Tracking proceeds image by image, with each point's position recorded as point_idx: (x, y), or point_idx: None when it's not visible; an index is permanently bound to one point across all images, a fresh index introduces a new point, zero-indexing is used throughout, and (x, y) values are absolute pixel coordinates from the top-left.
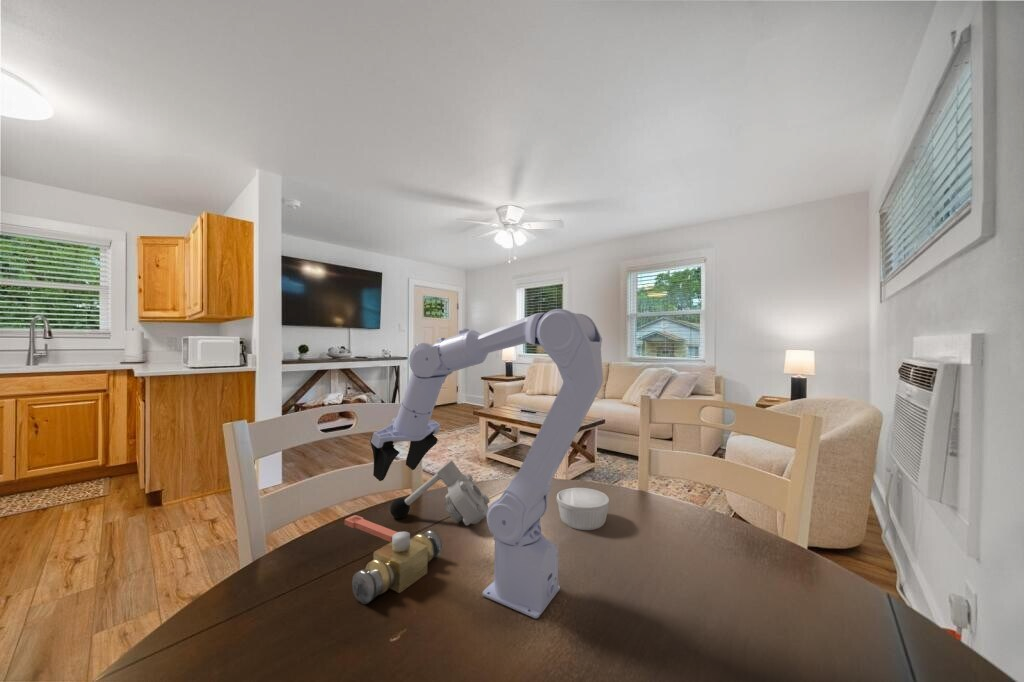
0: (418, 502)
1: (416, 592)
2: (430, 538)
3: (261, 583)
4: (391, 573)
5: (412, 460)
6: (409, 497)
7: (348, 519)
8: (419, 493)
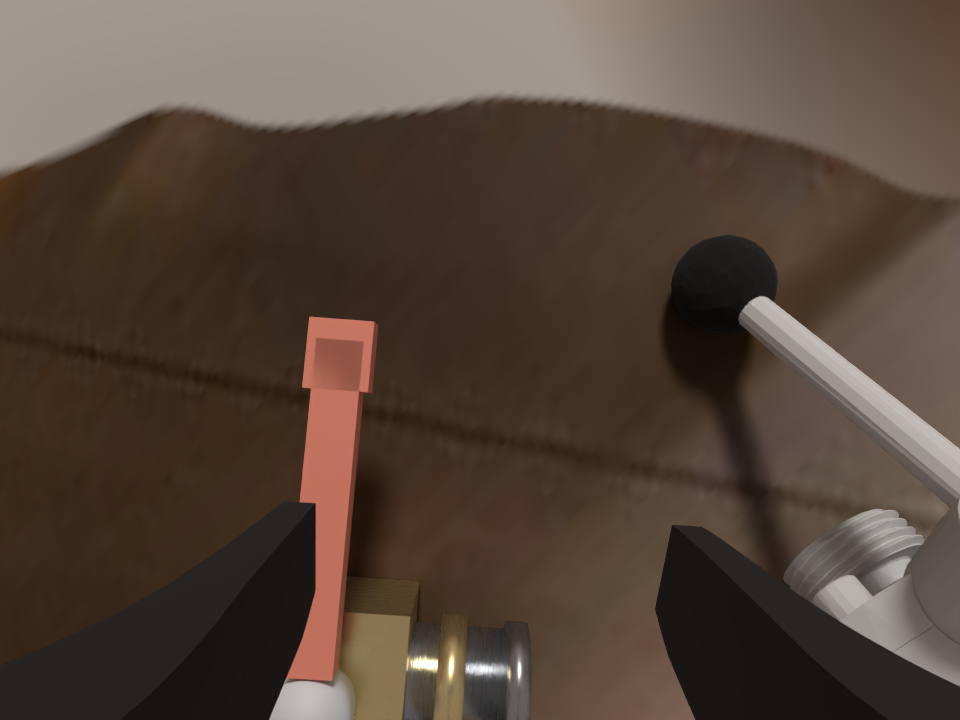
0: (869, 263)
1: None
2: (497, 711)
3: (96, 233)
4: None
5: (694, 636)
6: (767, 327)
7: (318, 334)
8: (806, 380)
